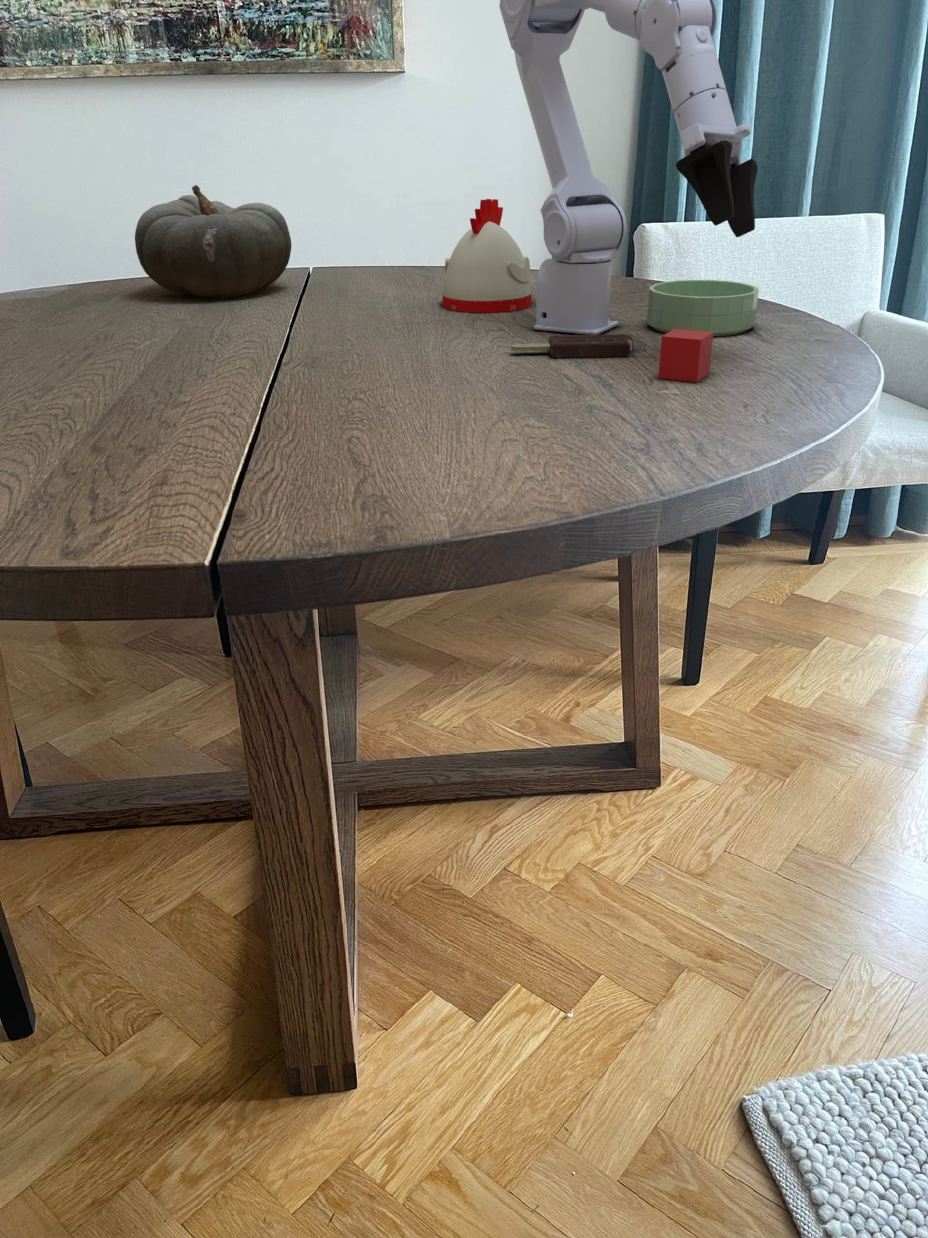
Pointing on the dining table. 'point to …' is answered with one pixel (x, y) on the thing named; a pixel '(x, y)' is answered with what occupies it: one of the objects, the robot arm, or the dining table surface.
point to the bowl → (702, 306)
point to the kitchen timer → (487, 267)
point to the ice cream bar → (583, 346)
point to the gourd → (212, 246)
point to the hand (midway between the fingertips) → (735, 227)
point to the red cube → (685, 355)
